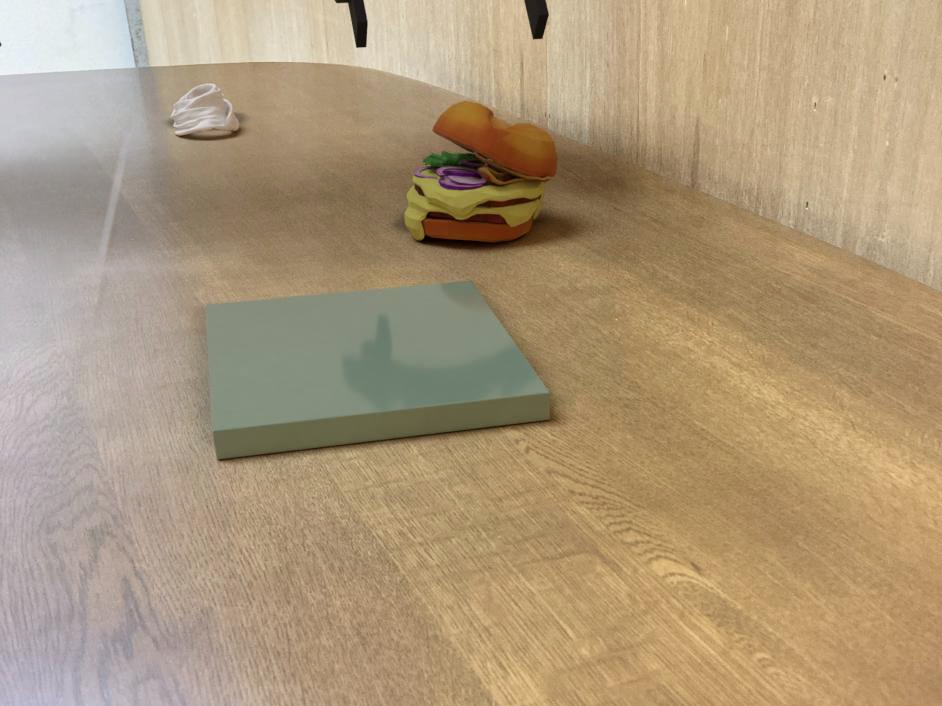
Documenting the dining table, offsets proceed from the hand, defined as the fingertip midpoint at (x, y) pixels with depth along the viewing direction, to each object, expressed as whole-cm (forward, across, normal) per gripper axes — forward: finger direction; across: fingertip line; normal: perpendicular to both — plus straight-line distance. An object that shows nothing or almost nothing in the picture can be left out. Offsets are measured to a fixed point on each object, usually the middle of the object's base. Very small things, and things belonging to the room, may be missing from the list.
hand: (453, 31), depth 85 cm
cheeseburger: (+14, 0, +4) cm, 15 cm away
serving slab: (+32, -12, -14) cm, 37 cm away
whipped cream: (-16, -19, +34) cm, 42 cm away
